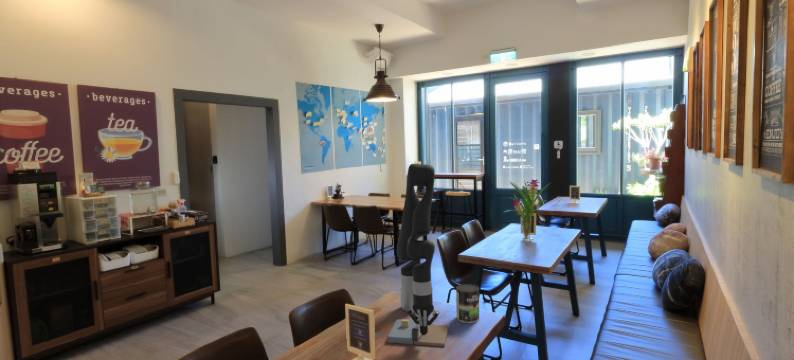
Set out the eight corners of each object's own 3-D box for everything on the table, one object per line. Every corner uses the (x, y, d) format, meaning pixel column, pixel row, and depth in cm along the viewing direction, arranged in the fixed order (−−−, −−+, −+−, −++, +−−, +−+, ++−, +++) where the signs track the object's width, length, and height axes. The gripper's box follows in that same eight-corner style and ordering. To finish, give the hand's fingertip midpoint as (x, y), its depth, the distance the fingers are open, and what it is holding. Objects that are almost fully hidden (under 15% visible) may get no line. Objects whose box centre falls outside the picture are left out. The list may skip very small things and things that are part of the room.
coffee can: (484, 320, 185) (484, 289, 184) (465, 325, 180) (465, 293, 179) (470, 311, 194) (469, 282, 193) (451, 316, 190) (451, 286, 188)
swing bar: (419, 326, 174) (419, 317, 174) (426, 327, 173) (426, 317, 173) (410, 340, 163) (410, 329, 163) (418, 341, 162) (418, 330, 162)
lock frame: (396, 324, 183) (396, 313, 182) (448, 328, 178) (448, 316, 178) (388, 342, 167) (387, 330, 167) (444, 346, 163) (444, 334, 162)
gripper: (403, 293, 161) (405, 336, 163) (436, 296, 157) (438, 340, 158) (409, 286, 168) (410, 328, 170) (441, 289, 164) (442, 331, 165)
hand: (424, 334), depth 164 cm, fingers closed
